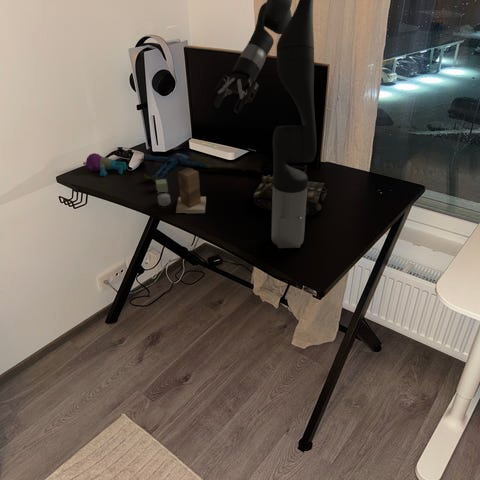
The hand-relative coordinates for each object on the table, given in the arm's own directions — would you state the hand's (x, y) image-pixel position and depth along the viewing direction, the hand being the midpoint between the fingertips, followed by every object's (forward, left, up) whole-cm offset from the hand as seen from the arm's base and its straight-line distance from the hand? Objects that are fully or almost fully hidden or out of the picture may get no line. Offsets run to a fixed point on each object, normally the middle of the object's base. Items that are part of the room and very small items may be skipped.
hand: (225, 109), depth 141 cm
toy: (+20, +47, -29) cm, 59 cm away
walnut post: (-10, +12, -27) cm, 32 cm away
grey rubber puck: (-8, +21, -29) cm, 36 cm away
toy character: (+19, +23, -29) cm, 42 cm away
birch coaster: (-10, +12, -28) cm, 33 cm away
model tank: (-9, -20, -29) cm, 37 cm away
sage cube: (+2, +23, -29) cm, 37 cm away
